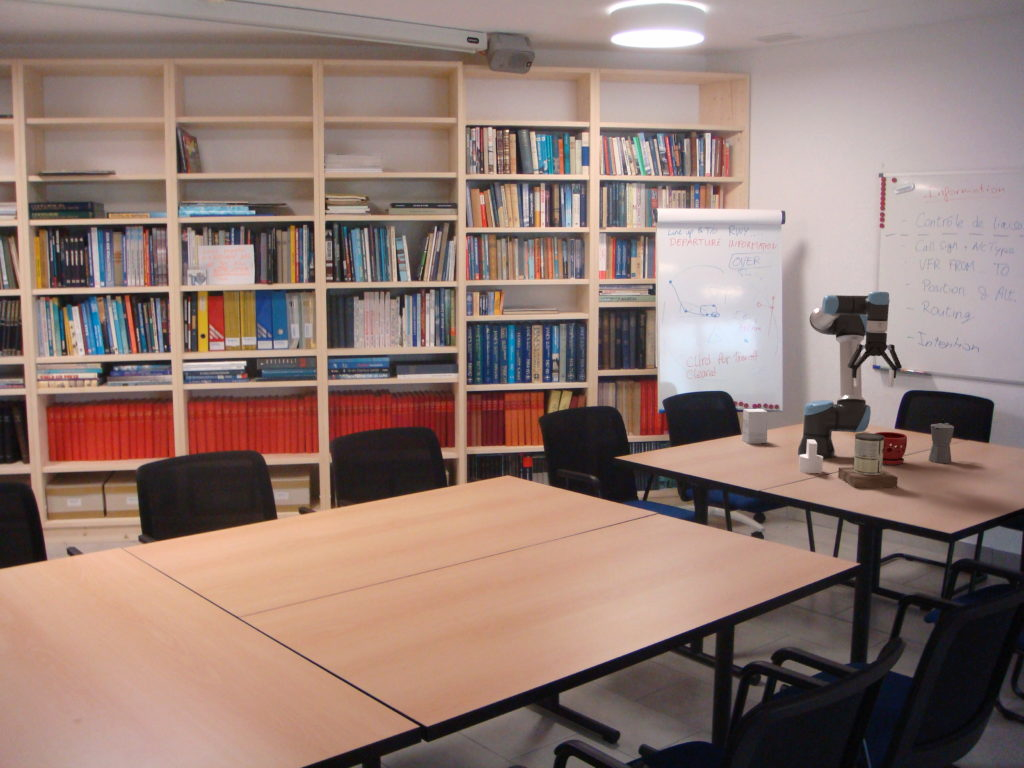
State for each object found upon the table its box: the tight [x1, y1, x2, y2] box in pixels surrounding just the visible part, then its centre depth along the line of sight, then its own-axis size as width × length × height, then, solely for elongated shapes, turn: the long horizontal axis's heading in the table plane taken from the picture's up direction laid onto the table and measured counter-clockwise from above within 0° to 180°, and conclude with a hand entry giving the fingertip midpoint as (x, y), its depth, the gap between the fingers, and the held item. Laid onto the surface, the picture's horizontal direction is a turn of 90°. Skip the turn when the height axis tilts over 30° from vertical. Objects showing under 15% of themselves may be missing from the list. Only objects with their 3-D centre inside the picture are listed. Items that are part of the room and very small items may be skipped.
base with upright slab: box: [798, 439, 824, 474], centre depth 370 cm, size 9×9×12 cm
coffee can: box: [853, 432, 884, 475], centre depth 351 cm, size 10×10×14 cm
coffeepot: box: [928, 418, 955, 464], centre depth 391 cm, size 15×9×18 cm, turn 137°
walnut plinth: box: [837, 466, 899, 488], centre depth 353 cm, size 16×16×4 cm
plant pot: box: [873, 431, 908, 466], centre depth 387 cm, size 13×13×12 cm
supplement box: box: [741, 408, 769, 445], centre depth 429 cm, size 9×9×15 cm
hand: (873, 386), depth 362 cm, fingers open, 13 cm apart
